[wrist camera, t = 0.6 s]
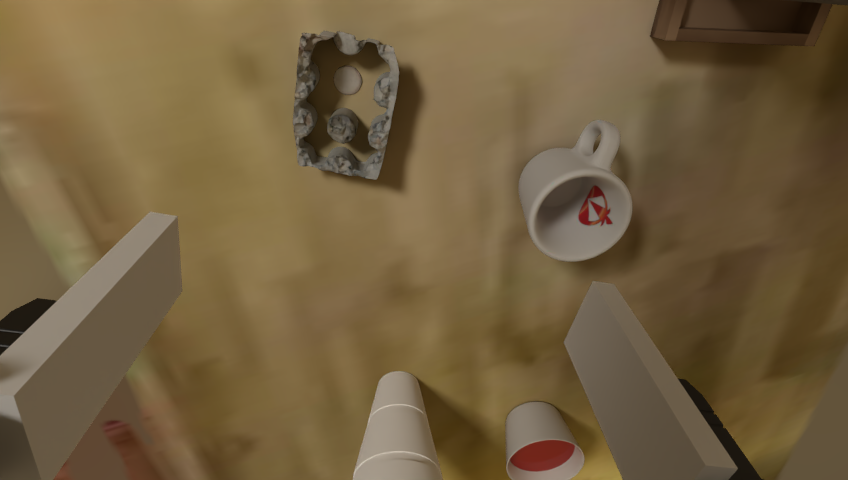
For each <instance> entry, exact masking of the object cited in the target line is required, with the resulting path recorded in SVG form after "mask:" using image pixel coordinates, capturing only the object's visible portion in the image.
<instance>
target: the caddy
mask: <svg viewBox="0 0 848 480" xmlns="http://www.w3.org/2000/svg"><path fill="white" fill-rule="evenodd" d="M831 6H832V4H825V3H812V2H799V1H787V0H660V1H659V4H658V8H657V12H656V16H655V20H654V23H653V27H652V31H651V35H650V36H651V37H655V38H658V39H662V40H671V41H696V42H721V43H746V44H770V45H795V46H815V43H816V41H817V39H818V37H819V34H820V32H821V30H822V27H823V25H824V23H825V20H826V18H827V16H828V13H829V11H830V9H831Z"/></svg>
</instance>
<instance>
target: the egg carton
mask: <svg viewBox="0 0 848 480" xmlns="http://www.w3.org/2000/svg"><path fill="white" fill-rule="evenodd" d="M332 37H333V39H334V43H335V45H336V46H337V48H338V50H340V51H341V52H343V53H344V54H346V55H355V54H357V53H359V52H360V51H361V50H362V48H363V47H364V45H365V43H366V42H371V43H375V44H376V45H377V48H378V52H379V55H380V56H381V57H382V58H383V59H384V60H385V61H386V62H387V63H388V64H389V66H390V72H386V73H383V74H382V75H380V76H379V78H378V79H377V81H376V84H375V87H374V100H375V101H376V103H377V104H378V105H379V106H381V107H385V108H387V111H386V112H385V113H384V114H382V115H379V116H377V117H375V118H374V119H373V121H372V123H371V127H370V131H369V133H368V141H369V144H370V146H372V147H374V148H375V149H376V150H377V151H378V153H374V154H372V155H371V156H370V157H369V158H368V159H367V161H366V162H359V161H357V160H356V159H355V158H354V156H353V154H352V153H351V151H350V150H349V149H347V148H345V147H336V148H334V149H332V150H331V151H330V153H329V155H328V157H319V156H316V153H315V150H314V148H313V146H312V145H311V144H309V143H307V142H305V141H304V138H303V137H305V136H307V135H309V134H310V133H311V131H312V130H313V128H314V126H315V124H316V122H317V119H318V115H317V111H316V109H315V108H314V107H313V106H312V105H311V104H309V103H308V102H307V97H308V96H309V94H310V93H311V92H312V91H313V90H314V88H315V86H316V85H317V83H318V82H319V79H320V72H319V69H318V67H317V65H316V64H315V63H314V62H313V61H311V55H312V52H313V49H314V47H315V45H316V44H317V43H318V42H319V41H321V40H328V39H330V38H332ZM398 81H399V68H398V64H397V60H396V56H395V53H394V48H393V47H392V46H389V45H380V41H379V40H374V39H370V38H368V39H367V40H362V41H357V40H356V39H355V36H354V35H351V34H347V33H343V32H338V31H337V34H336V33H334V32H329V31H323V32H322V33H320V35H317V34H309V33H302V36H301V38H300V47H299V54H298V64H297V82H296V91H295V104H294V115H293V125H294V134H295V140H296V147H297V159H298V164H299V165H300V166H311V167H316V168H318V169H319V170H322V171H332V172H335V173H341V174H345V175H349V176H361V177H363V178H367V179H374V180H376V179H377V178H378V175H379V172H380V169H381V166H382V162H383V158H384V154H385V149H386V144H387V140H388V134H389V130H390V126H391V119H392V115H393V110H394V104H395V100H396V96H397V89H398ZM361 83H362V79H361V75H360V73H359V72H358V71H357V70H356V69H355V68H354V67H352V66H343V67H340V68H338V70H337V71H336V72H335V75H334V84H335V86H336V88H337V89H338V90H339V91H340V92H341V93H343V94H345V95H351V94H354V93H356V92H357V91H358V90H359V88H360V87H361ZM357 127H358V119H357V117H356V115H355V114H354V112H353V111H352V110H350V109H347V108H339V109H337V110H336V111H335V112H334V113H333V114H332V116H331V118H330V119H329V121H328V125H327V132H328V134H329V135H330V136H331V138H332V139H333V140H335V141H337V142H340V143H343V144H344V143H346V142H349V141H351V140H352V139H353V138H354V136H355V135H356V131H357Z"/></svg>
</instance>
